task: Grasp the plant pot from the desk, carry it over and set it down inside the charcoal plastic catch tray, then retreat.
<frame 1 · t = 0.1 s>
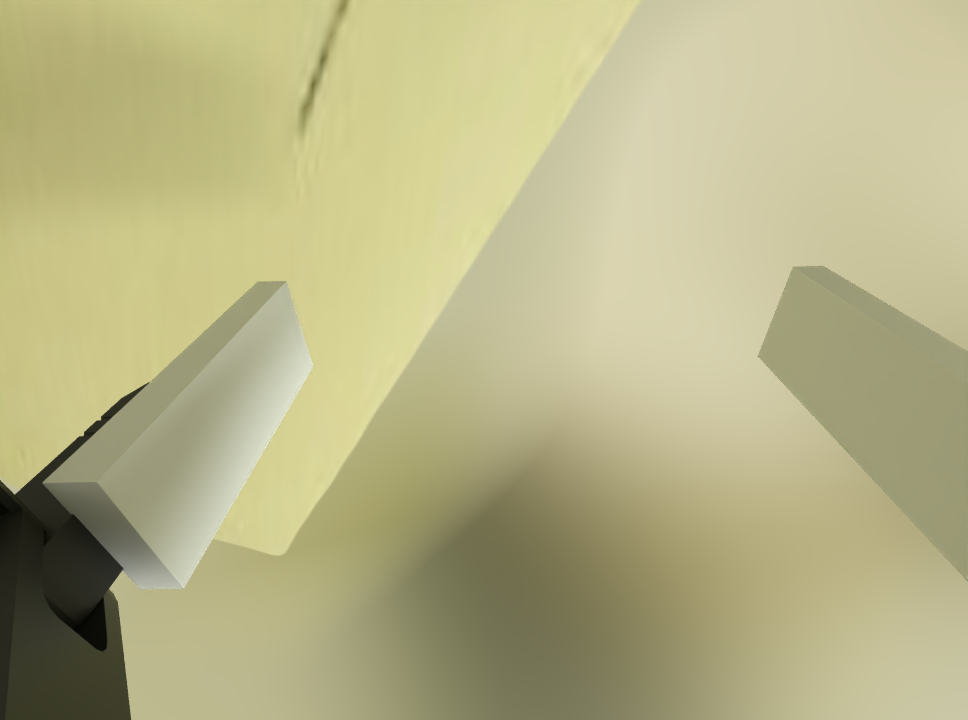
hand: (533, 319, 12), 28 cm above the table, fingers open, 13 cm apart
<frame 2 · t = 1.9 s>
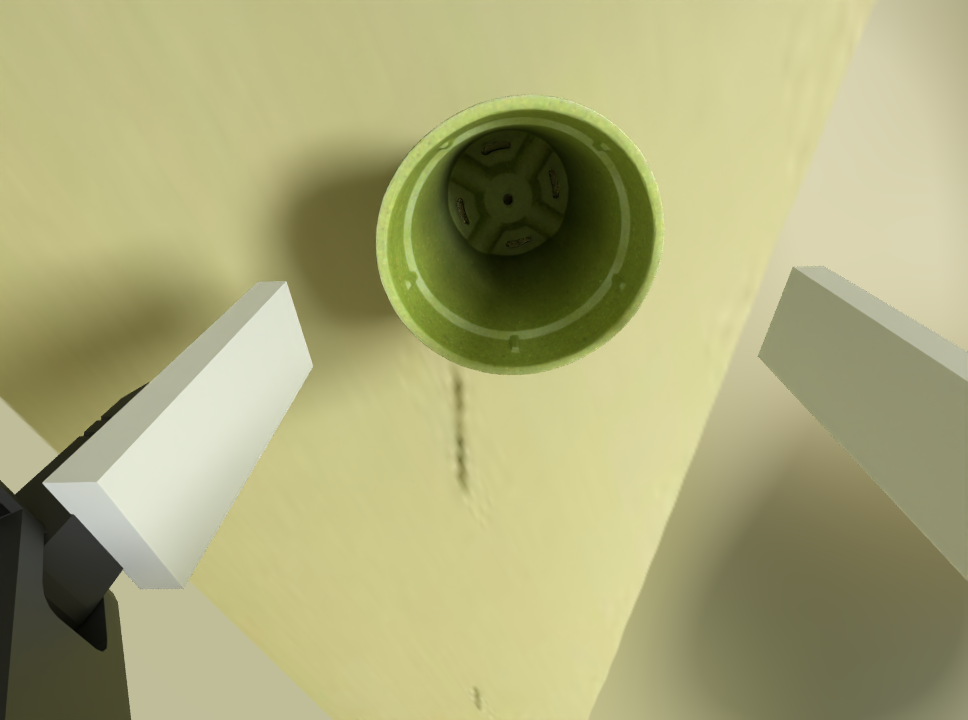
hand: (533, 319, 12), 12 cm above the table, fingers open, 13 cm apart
plant pot: (506, 193, 21), on the table
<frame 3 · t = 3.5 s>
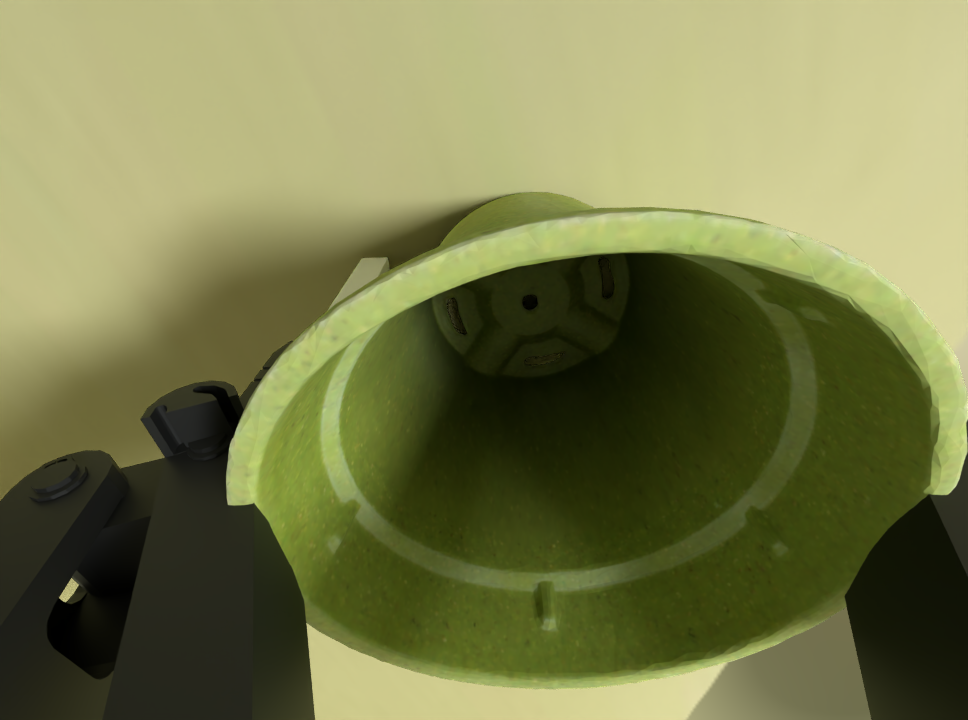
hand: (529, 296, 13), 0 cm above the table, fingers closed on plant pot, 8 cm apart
plant pot: (527, 288, 13), on the table, touching gripper
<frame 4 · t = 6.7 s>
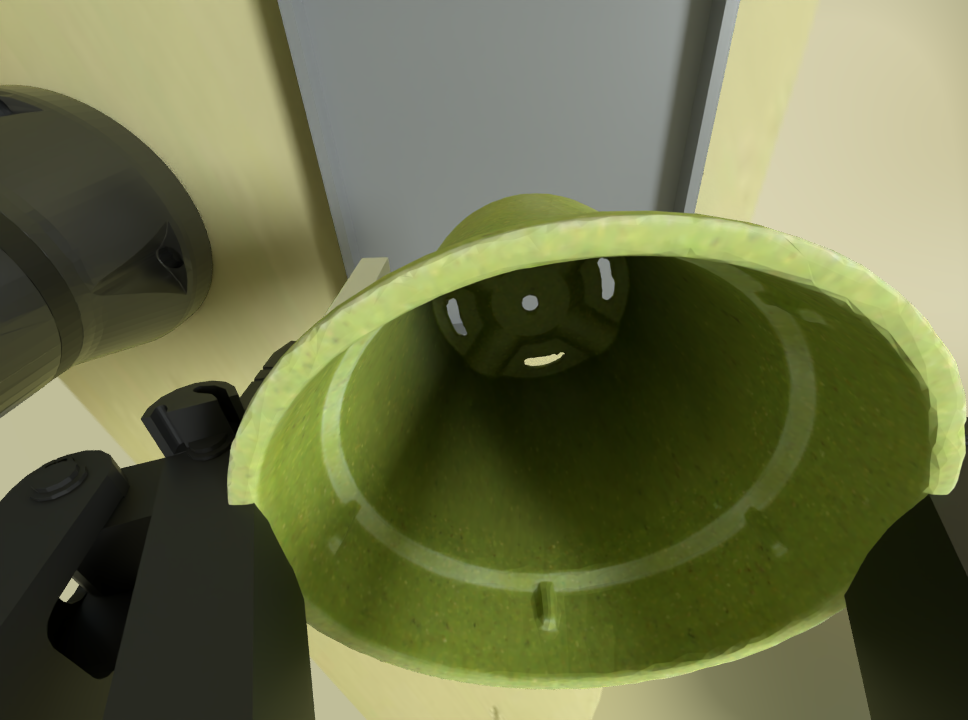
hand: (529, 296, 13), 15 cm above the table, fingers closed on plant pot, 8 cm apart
plant pot: (527, 289, 13), point 15 cm above the table, touching gripper
catch tray: (509, 170, 25), on the table
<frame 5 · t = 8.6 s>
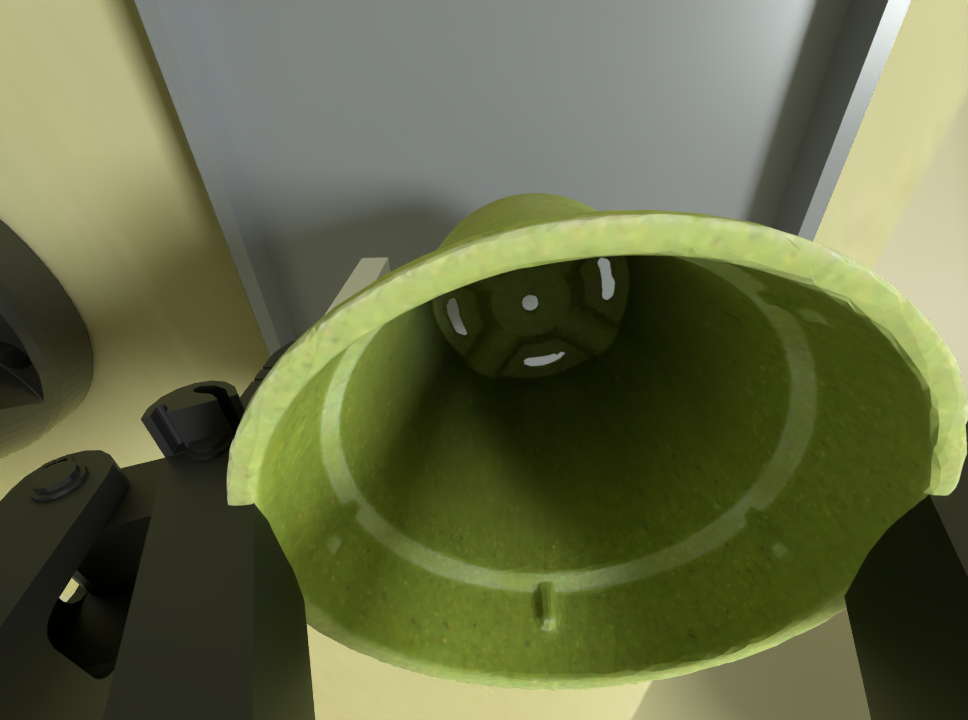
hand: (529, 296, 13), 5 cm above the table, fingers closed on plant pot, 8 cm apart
plant pot: (527, 289, 13), point 5 cm above the table, touching gripper
catch tray: (515, 237, 17), on the table
when the fingers open (3 cm above the table, at t = 10.0 s): plant pot drops 2 cm, resting on catch tray.
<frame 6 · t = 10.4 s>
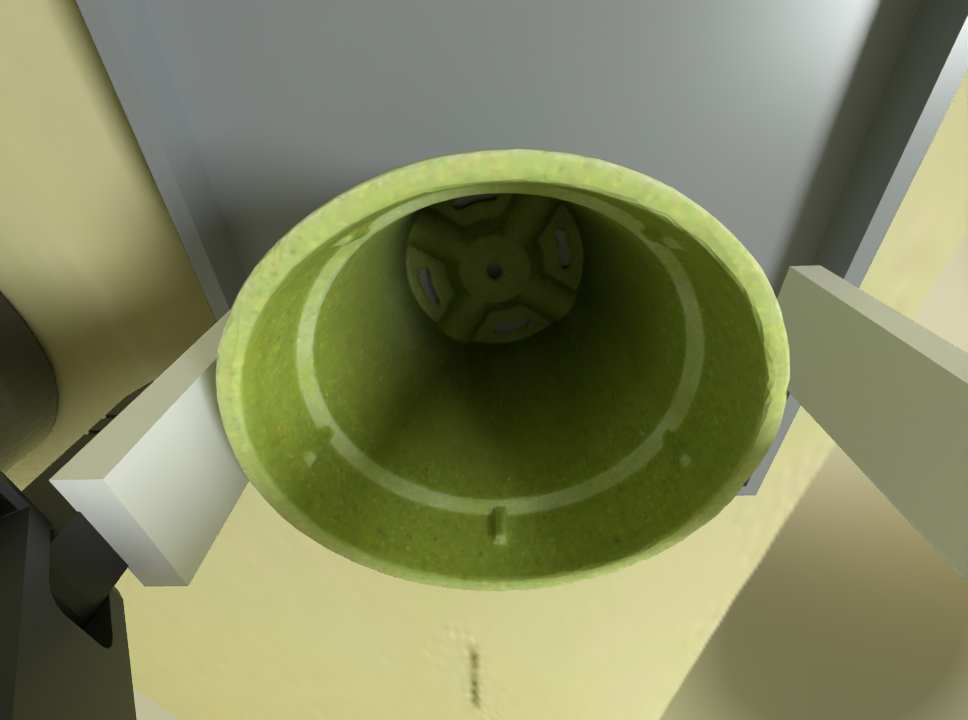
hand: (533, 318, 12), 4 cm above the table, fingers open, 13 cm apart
plant pot: (493, 260, 15), resting on catch tray
catch tray: (523, 262, 15), on the table
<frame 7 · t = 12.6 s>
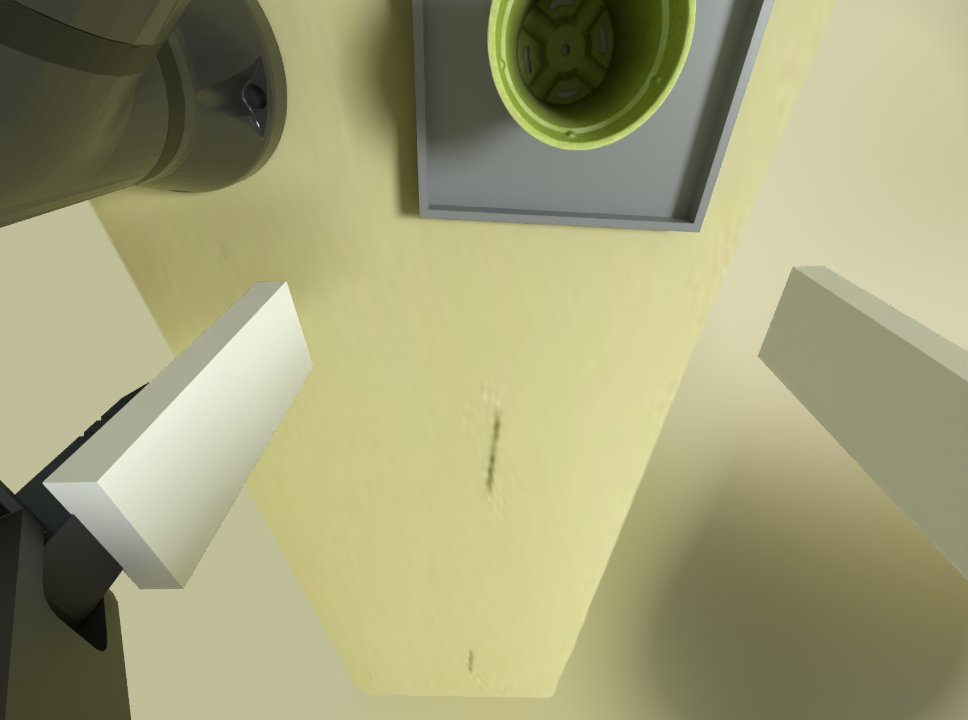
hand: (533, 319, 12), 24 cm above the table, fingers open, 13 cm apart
plant pot: (563, 48, 27), resting on catch tray
catch tray: (578, 54, 28), on the table
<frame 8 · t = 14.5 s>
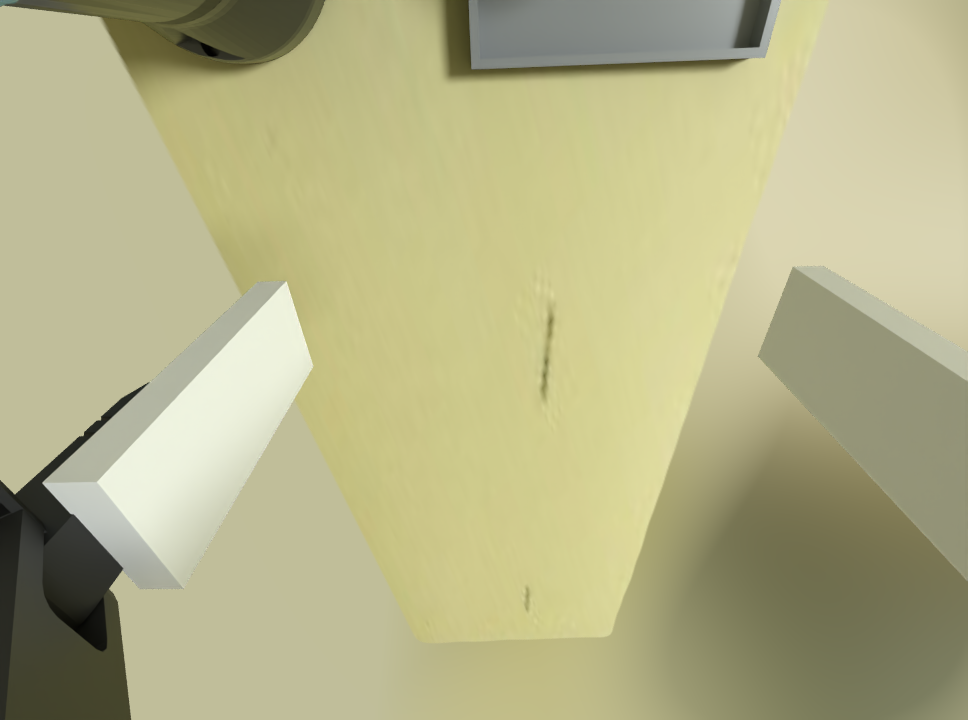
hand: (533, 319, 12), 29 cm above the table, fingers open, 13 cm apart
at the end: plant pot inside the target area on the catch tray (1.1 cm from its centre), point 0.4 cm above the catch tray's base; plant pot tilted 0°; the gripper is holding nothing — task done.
